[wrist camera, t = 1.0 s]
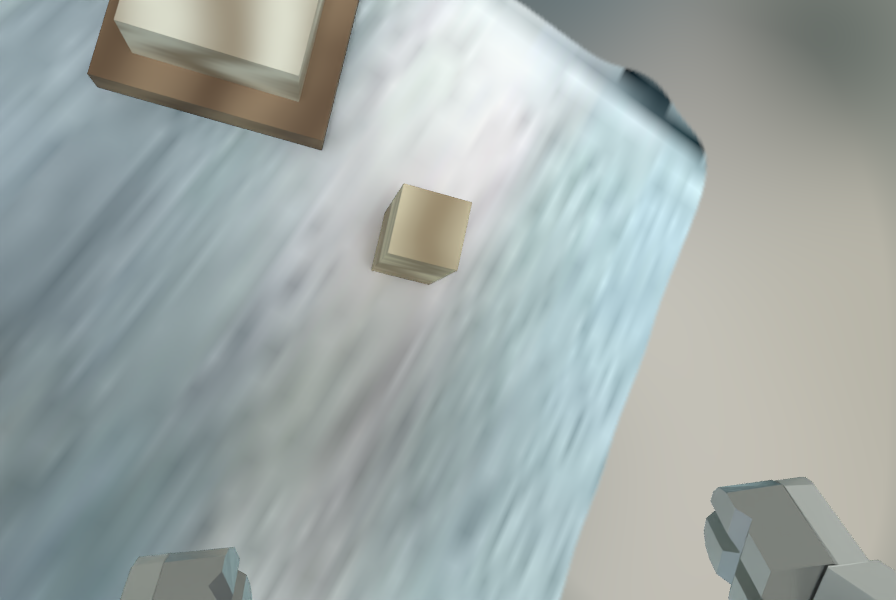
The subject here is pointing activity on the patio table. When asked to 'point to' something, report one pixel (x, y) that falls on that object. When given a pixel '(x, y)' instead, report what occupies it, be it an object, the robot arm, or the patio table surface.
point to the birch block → (421, 235)
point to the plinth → (229, 95)
